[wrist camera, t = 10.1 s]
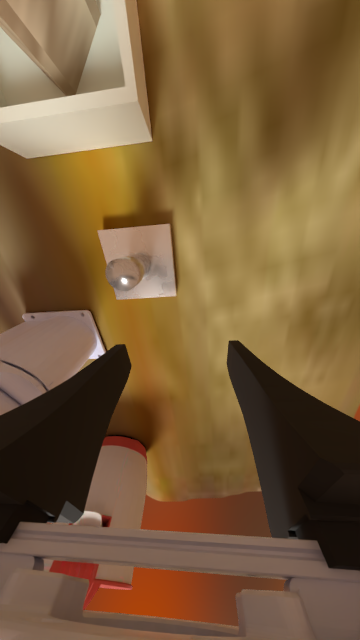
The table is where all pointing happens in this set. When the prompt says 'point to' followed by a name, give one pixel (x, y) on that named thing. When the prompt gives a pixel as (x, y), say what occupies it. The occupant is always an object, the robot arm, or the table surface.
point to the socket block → (53, 35)
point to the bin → (78, 93)
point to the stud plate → (148, 246)
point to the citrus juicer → (110, 510)
